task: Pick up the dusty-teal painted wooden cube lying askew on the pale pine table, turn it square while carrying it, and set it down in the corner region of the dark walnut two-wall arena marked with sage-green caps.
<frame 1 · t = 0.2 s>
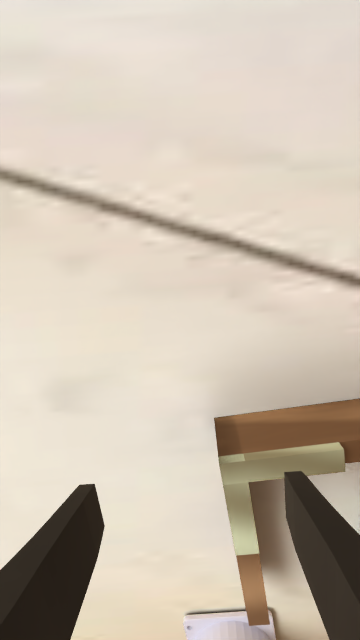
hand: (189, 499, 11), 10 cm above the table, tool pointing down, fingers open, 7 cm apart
corner arena: (237, 432, 21), on the table
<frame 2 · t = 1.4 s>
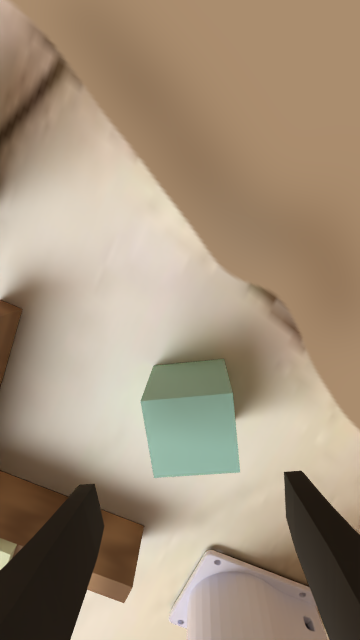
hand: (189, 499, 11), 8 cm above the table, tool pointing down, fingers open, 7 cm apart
teal cube: (192, 393, 19), on the table
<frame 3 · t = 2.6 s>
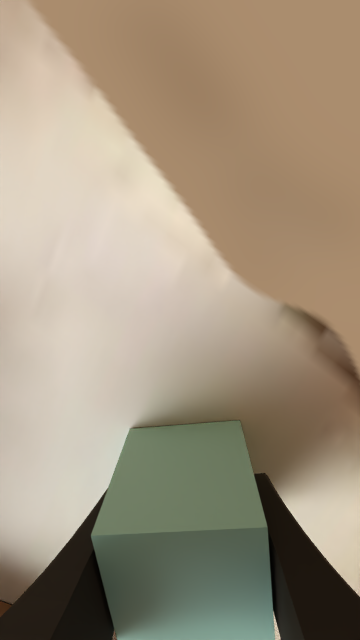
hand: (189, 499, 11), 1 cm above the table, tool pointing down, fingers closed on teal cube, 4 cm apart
teal cube: (190, 471, 12), on the table, touching gripper
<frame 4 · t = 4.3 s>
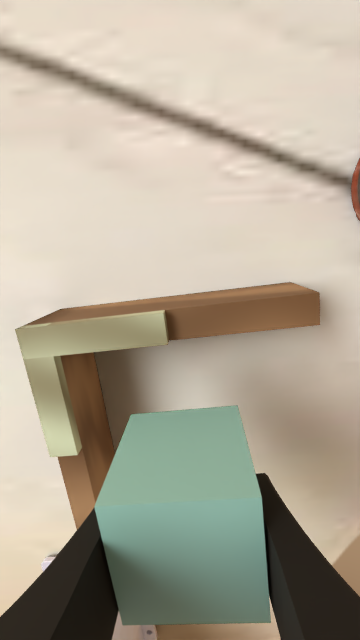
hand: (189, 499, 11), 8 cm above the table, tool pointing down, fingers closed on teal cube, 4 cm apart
corner arena: (88, 329, 18), on the table
teal cube: (189, 455, 12), point 6 cm above the table, touching gripper
when the fingers open (3 cm above the table, at t = 5.6 s): teal cube drops 1 cm, on the table.
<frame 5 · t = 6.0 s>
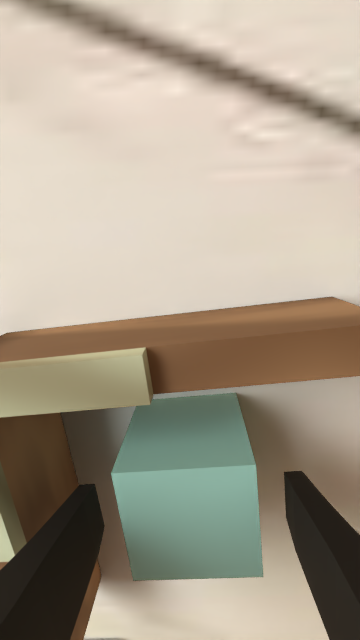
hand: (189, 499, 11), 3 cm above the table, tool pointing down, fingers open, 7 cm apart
corner arena: (47, 360, 13), on the table
teal cube: (191, 438, 14), on the table
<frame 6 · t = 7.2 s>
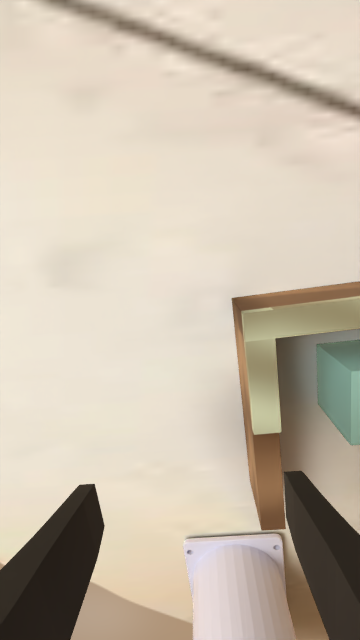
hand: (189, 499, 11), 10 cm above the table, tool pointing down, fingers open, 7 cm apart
corner arena: (256, 317, 19), on the table
teal cube: (350, 371, 20), on the table
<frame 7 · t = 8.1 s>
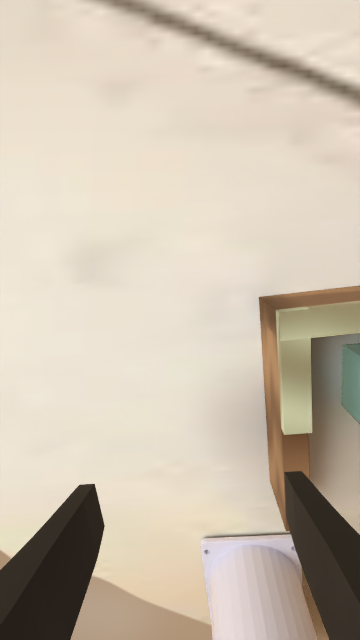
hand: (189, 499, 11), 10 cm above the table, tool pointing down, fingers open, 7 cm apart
corner arena: (283, 316, 19), on the table
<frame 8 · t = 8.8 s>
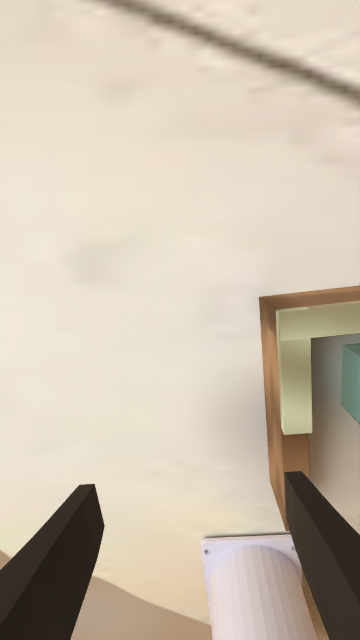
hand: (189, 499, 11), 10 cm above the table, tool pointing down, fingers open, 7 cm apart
corner arena: (283, 316, 19), on the table
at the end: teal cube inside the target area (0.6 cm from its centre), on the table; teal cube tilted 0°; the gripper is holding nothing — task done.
